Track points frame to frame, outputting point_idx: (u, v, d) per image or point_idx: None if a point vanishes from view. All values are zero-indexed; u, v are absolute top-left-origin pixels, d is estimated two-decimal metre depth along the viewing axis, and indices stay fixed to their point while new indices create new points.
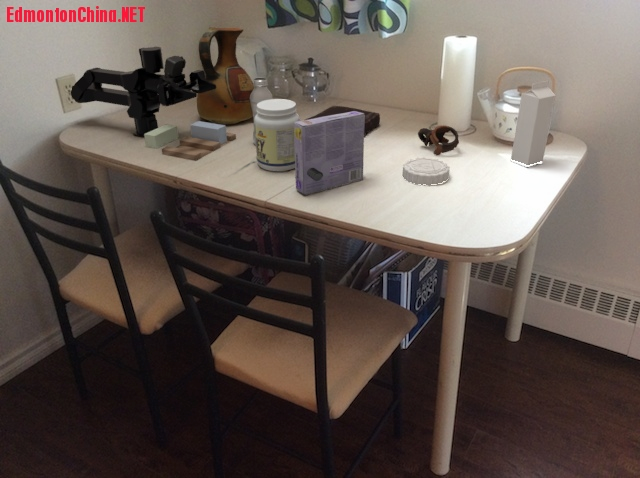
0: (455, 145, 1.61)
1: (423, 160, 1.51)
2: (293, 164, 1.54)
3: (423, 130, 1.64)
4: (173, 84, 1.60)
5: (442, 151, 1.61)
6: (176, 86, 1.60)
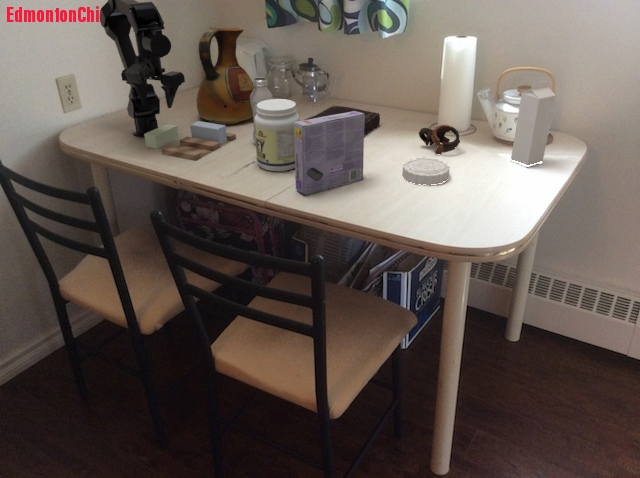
0: (456, 144, 1.62)
1: (423, 160, 1.51)
2: (293, 164, 1.54)
3: (424, 130, 1.64)
4: (130, 84, 1.64)
5: (443, 150, 1.61)
6: (133, 86, 1.65)
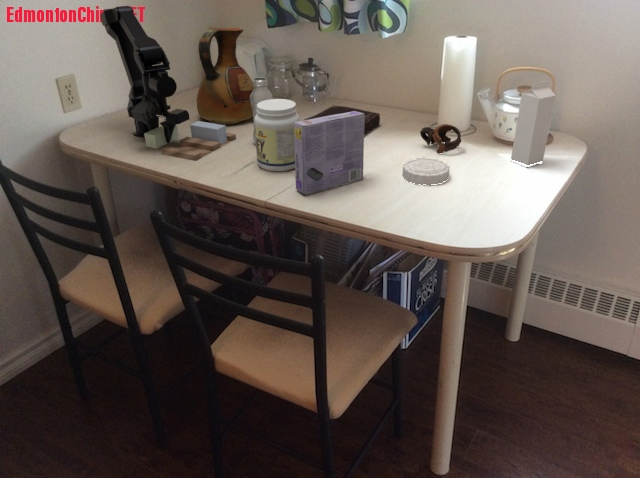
0: (458, 144, 1.62)
1: (423, 160, 1.51)
2: (293, 164, 1.54)
3: (425, 129, 1.65)
4: (143, 121, 1.68)
5: (445, 150, 1.62)
6: (146, 123, 1.69)
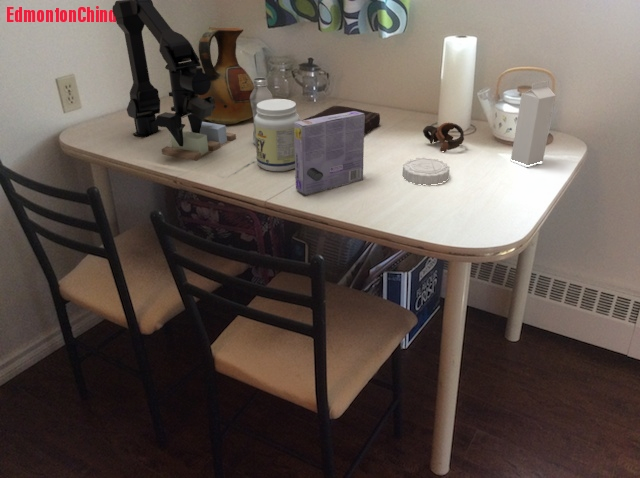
0: (461, 142, 1.63)
1: (423, 160, 1.51)
2: (293, 164, 1.54)
3: (428, 128, 1.66)
4: (182, 127, 1.55)
5: (448, 148, 1.63)
6: (181, 129, 1.56)
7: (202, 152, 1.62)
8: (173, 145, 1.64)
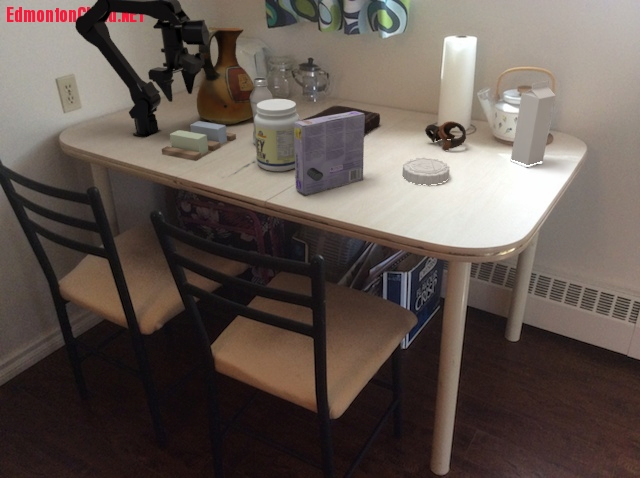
0: (463, 140, 1.64)
1: (423, 160, 1.51)
2: (293, 164, 1.54)
3: (430, 126, 1.67)
4: (171, 82, 1.65)
5: (451, 147, 1.64)
6: (169, 84, 1.66)
7: (202, 152, 1.62)
8: (173, 145, 1.64)
